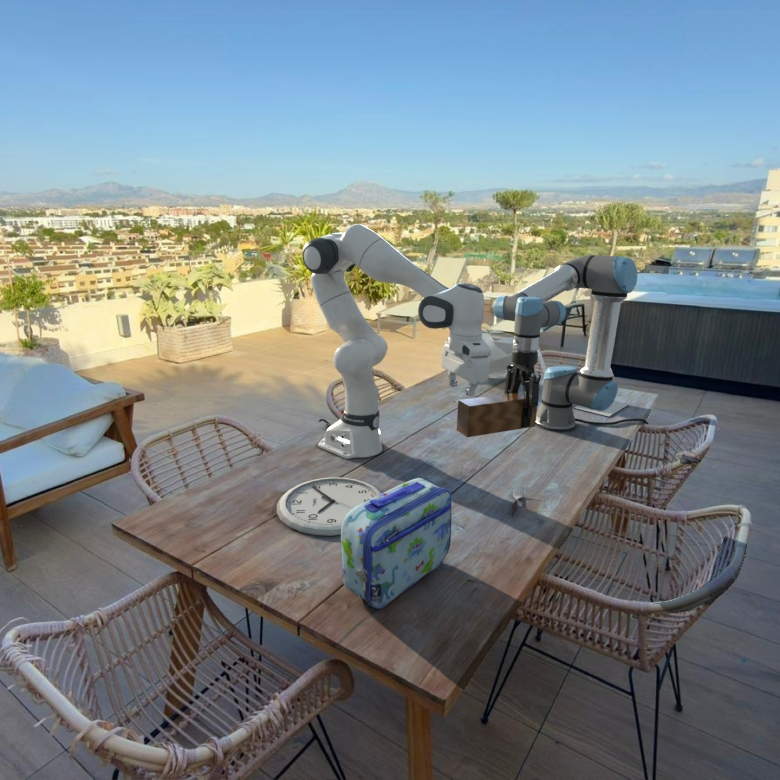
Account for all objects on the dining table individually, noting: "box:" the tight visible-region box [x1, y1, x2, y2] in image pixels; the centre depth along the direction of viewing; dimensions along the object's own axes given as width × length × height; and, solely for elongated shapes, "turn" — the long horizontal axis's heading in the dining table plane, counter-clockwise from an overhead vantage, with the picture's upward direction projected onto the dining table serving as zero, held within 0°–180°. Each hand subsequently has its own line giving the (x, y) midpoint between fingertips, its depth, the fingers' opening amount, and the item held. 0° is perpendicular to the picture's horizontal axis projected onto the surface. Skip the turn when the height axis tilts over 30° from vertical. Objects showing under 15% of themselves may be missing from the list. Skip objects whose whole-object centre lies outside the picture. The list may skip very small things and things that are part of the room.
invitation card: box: [573, 400, 629, 418], centre depth 226 cm, size 21×1×15 cm
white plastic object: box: [482, 332, 547, 376], centre depth 260 cm, size 37×45×31 cm
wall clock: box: [276, 476, 383, 537], centre depth 142 cm, size 30×2×30 cm
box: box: [456, 391, 538, 438], centre depth 157 cm, size 24×6×10 cm, turn 113°
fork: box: [511, 484, 525, 517], centre depth 145 cm, size 3×16×2 cm, turn 160°
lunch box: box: [340, 477, 452, 610], centre depth 110 cm, size 26×11×21 cm, turn 134°
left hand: (461, 390), depth 149 cm, fingers open, 8 cm apart
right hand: (518, 422), depth 162 cm, fingers closed on box, 6 cm apart
